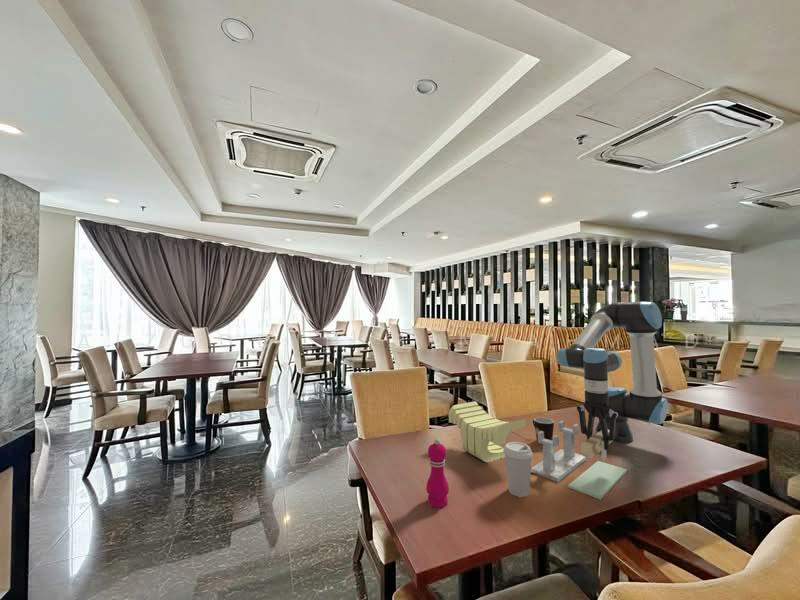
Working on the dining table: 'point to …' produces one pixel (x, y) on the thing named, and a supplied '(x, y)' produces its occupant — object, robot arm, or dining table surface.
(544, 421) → the coffee mug
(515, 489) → the coffee cup
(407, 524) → the dining table surface
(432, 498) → the pepper mill
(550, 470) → the rail stand
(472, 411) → the slatted curved stool
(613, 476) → the green mat
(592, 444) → the wooden rail
